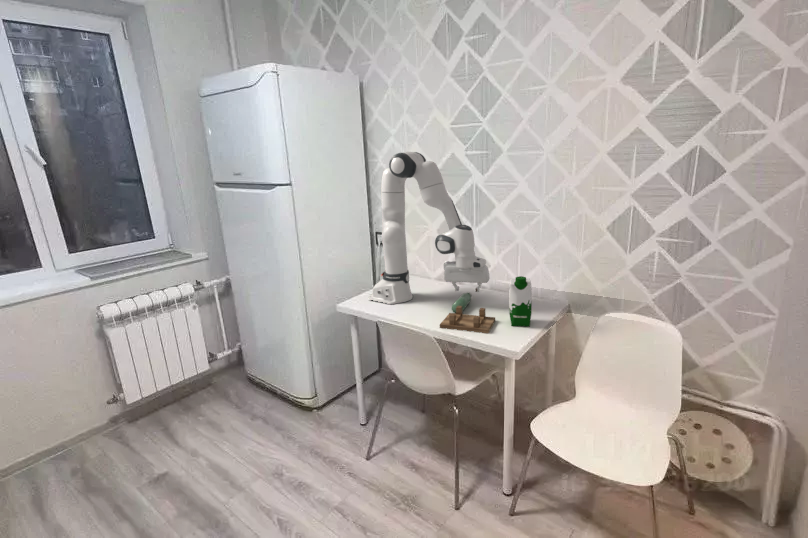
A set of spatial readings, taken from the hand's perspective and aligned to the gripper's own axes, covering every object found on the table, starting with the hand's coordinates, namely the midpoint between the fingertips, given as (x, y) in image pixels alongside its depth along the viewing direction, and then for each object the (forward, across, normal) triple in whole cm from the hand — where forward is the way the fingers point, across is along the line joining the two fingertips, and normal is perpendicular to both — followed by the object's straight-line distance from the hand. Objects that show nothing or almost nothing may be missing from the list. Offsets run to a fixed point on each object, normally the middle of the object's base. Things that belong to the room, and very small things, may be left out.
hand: (467, 291), depth 189 cm
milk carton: (+9, +25, -11) cm, 29 cm away
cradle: (+8, +5, -18) cm, 20 cm away
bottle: (+8, -1, +1) cm, 8 cm away
